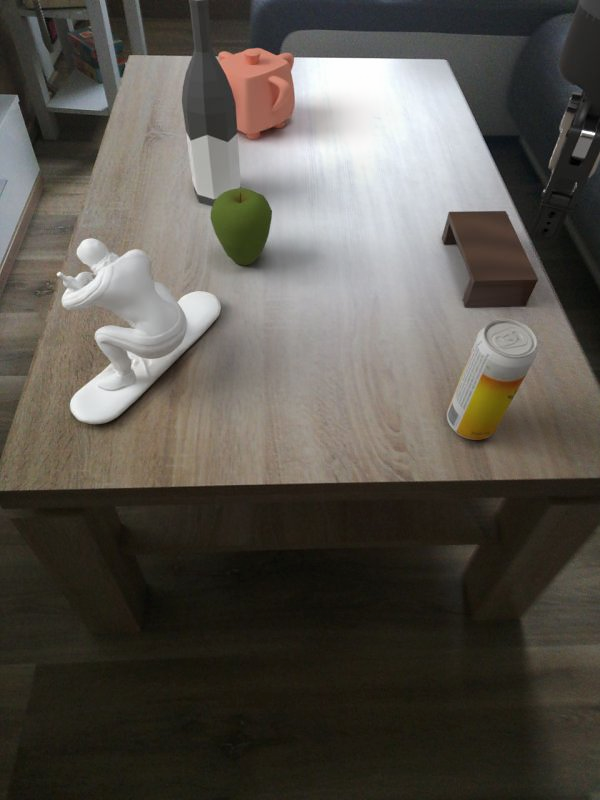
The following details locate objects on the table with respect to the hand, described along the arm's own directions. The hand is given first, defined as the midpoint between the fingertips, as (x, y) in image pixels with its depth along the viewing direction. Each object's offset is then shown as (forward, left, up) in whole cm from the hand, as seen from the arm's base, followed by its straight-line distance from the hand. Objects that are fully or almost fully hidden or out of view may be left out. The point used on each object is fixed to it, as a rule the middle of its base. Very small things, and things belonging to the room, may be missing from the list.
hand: (549, 213), depth 50 cm
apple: (+38, -10, -26) cm, 47 cm away
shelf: (+4, -24, -26) cm, 35 cm away
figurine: (+39, +13, -26) cm, 49 cm away
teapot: (+56, -47, -26) cm, 78 cm away
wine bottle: (+50, -24, -26) cm, 61 cm away
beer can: (-1, +5, -26) cm, 27 cm away
